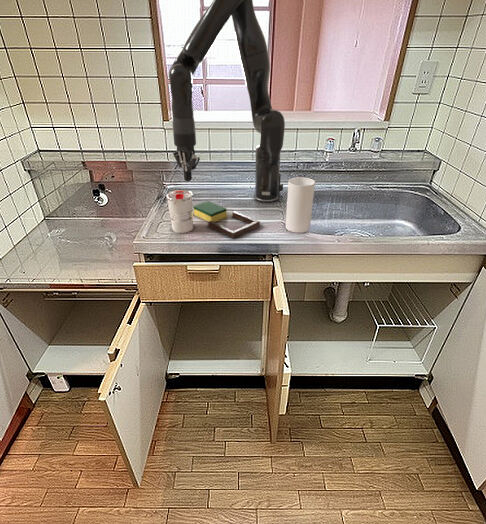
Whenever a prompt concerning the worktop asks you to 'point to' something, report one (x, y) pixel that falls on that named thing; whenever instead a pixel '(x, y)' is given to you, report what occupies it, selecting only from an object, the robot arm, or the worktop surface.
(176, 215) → the white canister
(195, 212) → the sponge
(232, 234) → the sponge rack
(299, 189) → the cup
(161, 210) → the worktop surface
